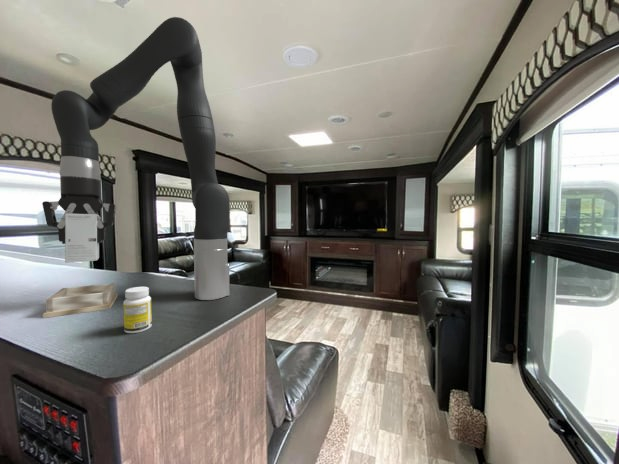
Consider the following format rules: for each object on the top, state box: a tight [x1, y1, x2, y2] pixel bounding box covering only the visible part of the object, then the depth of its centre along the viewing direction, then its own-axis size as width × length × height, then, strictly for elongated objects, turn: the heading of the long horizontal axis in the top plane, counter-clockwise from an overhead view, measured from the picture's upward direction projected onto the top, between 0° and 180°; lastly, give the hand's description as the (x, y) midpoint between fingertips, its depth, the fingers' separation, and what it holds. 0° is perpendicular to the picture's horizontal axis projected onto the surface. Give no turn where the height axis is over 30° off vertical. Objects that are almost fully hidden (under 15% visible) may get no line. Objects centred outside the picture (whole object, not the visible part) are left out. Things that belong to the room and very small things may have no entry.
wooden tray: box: [42, 282, 118, 319], centre depth 64 cm, size 12×12×4 cm
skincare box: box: [64, 214, 100, 263], centre depth 63 cm, size 6×4×12 cm
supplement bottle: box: [122, 286, 153, 334], centre depth 51 cm, size 5×5×8 cm
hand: (83, 242), depth 63 cm, fingers closed on skincare box, 6 cm apart
